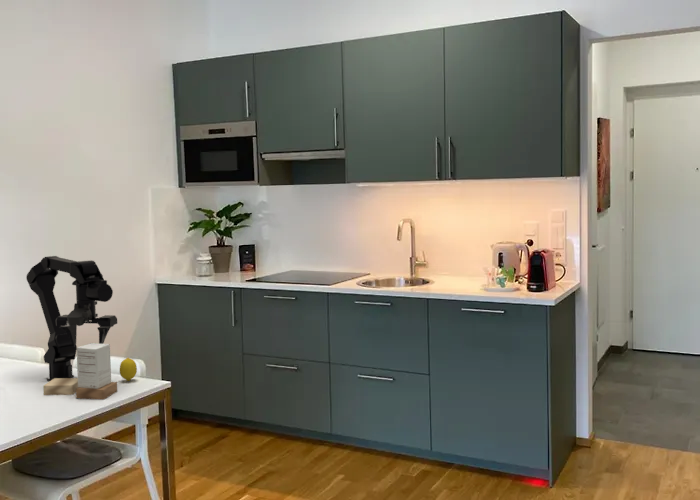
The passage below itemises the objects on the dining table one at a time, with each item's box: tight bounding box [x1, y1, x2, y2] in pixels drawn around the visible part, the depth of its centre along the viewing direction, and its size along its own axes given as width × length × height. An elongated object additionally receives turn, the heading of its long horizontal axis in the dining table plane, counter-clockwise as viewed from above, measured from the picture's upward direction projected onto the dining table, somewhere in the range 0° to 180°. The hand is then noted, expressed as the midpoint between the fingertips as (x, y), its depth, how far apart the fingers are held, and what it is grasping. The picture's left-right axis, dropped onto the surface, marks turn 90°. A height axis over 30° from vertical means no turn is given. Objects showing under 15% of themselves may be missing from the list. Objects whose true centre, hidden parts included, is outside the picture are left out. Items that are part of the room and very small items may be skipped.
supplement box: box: [76, 342, 112, 389], centre depth 224 cm, size 7×7×13 cm
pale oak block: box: [43, 377, 79, 396], centre depth 229 cm, size 9×9×3 cm
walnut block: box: [75, 381, 118, 400], centre depth 224 cm, size 9×9×3 cm
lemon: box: [119, 357, 138, 382], centre depth 240 cm, size 6×6×8 cm
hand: (87, 346), depth 234 cm, fingers open, 9 cm apart
